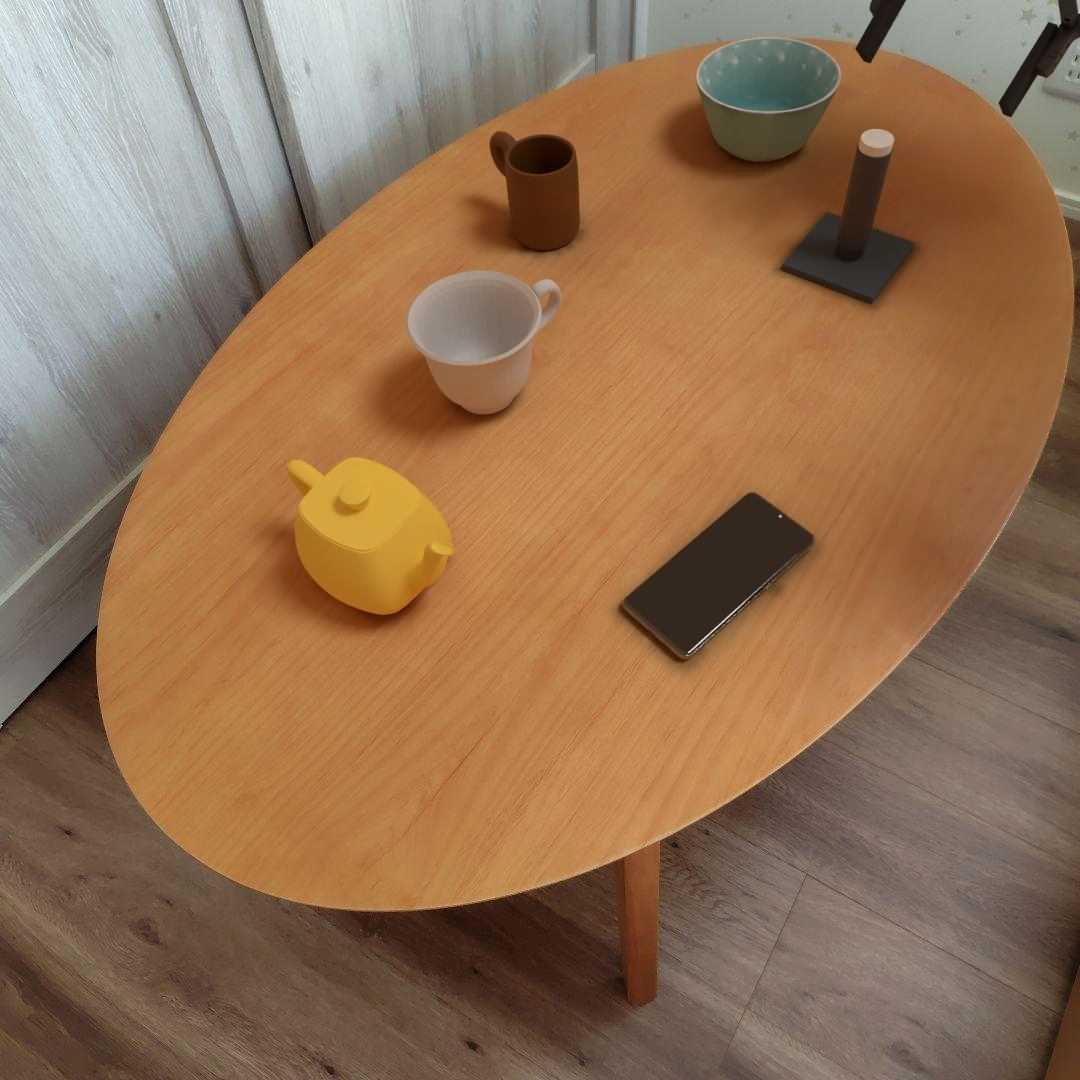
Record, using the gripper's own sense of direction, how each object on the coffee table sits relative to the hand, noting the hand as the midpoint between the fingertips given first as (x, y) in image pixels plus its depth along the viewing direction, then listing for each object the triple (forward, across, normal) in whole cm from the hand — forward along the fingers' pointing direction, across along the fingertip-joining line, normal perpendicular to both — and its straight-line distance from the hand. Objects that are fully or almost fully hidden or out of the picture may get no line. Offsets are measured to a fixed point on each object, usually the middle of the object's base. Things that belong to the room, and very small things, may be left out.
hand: (930, 82), depth 80 cm
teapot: (+56, +10, +26) cm, 62 cm away
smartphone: (+42, -11, +14) cm, 46 cm away
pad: (+14, +3, -14) cm, 20 cm away
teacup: (+41, +18, +12) cm, 46 cm away
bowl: (+7, +23, -22) cm, 33 cm away
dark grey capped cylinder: (+14, +4, -14) cm, 20 cm away
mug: (+26, +33, -2) cm, 42 cm away
